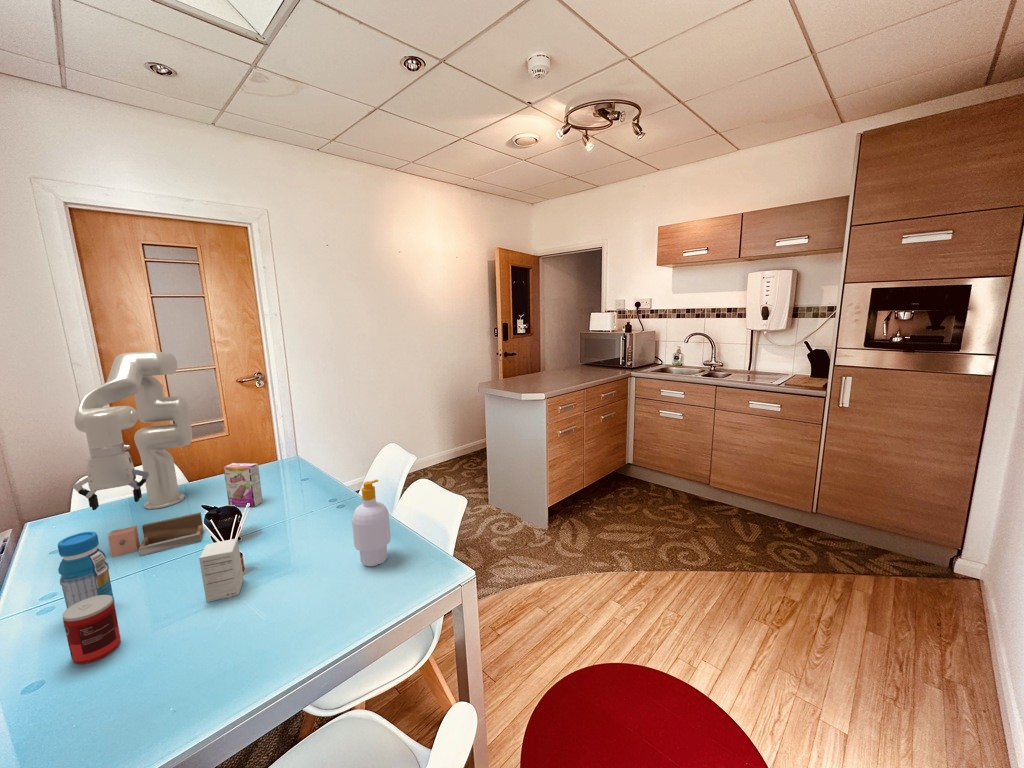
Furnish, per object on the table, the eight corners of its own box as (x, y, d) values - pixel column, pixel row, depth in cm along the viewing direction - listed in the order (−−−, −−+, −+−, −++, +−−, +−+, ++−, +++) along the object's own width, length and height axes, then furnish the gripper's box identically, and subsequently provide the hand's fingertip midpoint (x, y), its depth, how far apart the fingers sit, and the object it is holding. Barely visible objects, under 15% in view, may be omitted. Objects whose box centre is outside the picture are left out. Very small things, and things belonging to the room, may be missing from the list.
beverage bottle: (73, 629, 98) (56, 551, 95) (63, 616, 102) (47, 541, 99) (120, 607, 105) (106, 534, 102) (109, 596, 109) (95, 526, 106)
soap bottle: (398, 558, 123) (393, 482, 119) (366, 574, 116) (359, 493, 112) (381, 546, 130) (375, 473, 126) (349, 560, 123) (342, 483, 119)
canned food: (93, 639, 95) (84, 595, 93) (131, 636, 95) (122, 592, 93) (60, 666, 87) (50, 620, 85) (101, 663, 88) (91, 616, 86)
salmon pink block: (115, 551, 131) (111, 530, 130) (140, 545, 135) (136, 525, 133) (111, 558, 127) (107, 537, 126) (136, 552, 131) (133, 531, 129)
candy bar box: (228, 507, 161) (222, 467, 159) (237, 501, 166) (232, 462, 163) (254, 507, 160) (249, 467, 157) (263, 502, 165) (258, 462, 162)
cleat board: (146, 543, 136) (143, 524, 135) (203, 529, 144) (200, 512, 143) (139, 556, 128) (136, 536, 127) (200, 541, 136) (197, 523, 135)
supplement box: (212, 586, 112) (206, 543, 110) (244, 579, 115) (238, 537, 113) (205, 603, 106) (197, 557, 104) (239, 595, 109) (232, 550, 107)
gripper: (147, 443, 134) (155, 493, 136) (72, 453, 125) (82, 507, 127) (141, 449, 127) (150, 501, 130) (62, 460, 118) (73, 516, 121)
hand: (117, 504), depth 128 cm, fingers open, 9 cm apart
